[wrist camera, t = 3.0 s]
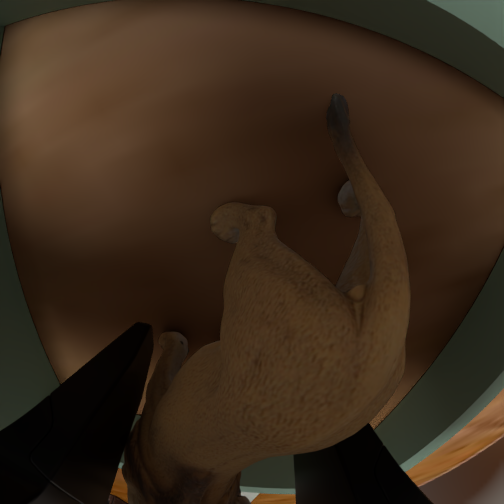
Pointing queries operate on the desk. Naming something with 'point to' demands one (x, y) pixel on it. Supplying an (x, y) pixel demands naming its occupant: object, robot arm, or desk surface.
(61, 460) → the robot arm
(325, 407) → the lion figurine
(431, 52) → the cold frame
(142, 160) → the desk surface
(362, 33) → the desk surface
